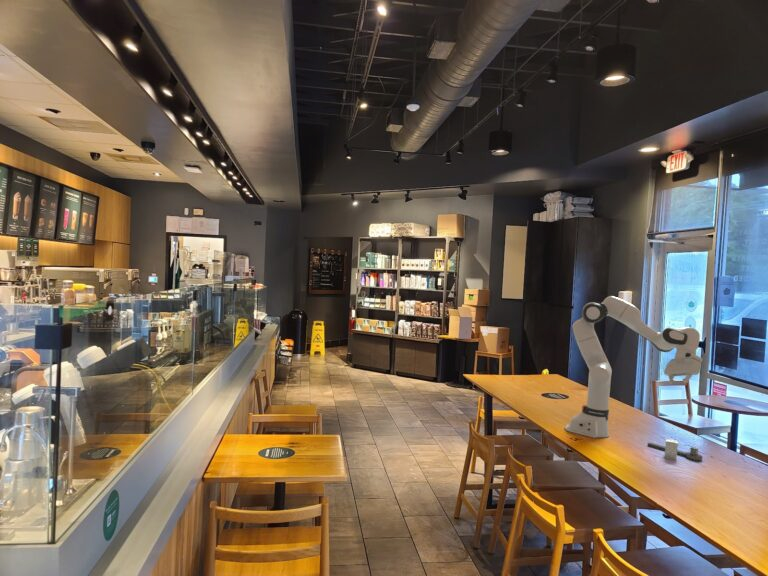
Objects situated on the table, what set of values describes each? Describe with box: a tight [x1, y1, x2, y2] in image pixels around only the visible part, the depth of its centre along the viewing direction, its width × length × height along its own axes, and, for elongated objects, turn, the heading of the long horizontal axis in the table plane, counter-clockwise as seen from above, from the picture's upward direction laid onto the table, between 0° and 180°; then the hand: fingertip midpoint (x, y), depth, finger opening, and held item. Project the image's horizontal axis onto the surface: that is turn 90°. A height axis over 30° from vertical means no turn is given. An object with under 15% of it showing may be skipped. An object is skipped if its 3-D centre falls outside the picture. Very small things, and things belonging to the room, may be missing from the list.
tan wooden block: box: [664, 438, 679, 461], centre depth 254 cm, size 5×5×8 cm
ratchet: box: [647, 442, 703, 462], centre depth 262 cm, size 25×7×5 cm, turn 42°
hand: (678, 382), depth 263 cm, fingers open, 8 cm apart
